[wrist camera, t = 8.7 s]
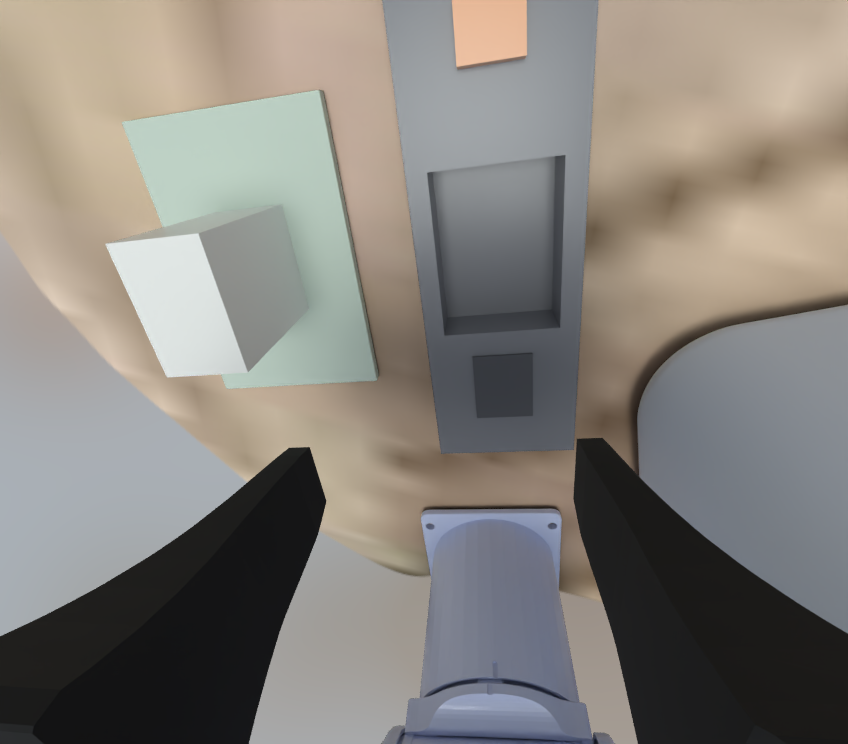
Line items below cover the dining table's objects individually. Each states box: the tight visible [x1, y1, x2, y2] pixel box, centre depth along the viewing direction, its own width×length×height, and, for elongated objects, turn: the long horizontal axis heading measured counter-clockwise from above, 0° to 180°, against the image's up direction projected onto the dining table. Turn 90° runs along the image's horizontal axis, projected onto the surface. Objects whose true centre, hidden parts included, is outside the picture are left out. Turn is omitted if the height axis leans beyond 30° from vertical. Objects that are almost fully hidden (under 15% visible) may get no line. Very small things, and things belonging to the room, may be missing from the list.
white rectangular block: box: [106, 204, 309, 377], centre depth 16 cm, size 4×3×6 cm, turn 7°
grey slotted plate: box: [382, 0, 598, 454], centre depth 16 cm, size 18×6×3 cm, turn 7°
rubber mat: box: [122, 90, 379, 389], centre depth 19 cm, size 12×8×1 cm, turn 7°
